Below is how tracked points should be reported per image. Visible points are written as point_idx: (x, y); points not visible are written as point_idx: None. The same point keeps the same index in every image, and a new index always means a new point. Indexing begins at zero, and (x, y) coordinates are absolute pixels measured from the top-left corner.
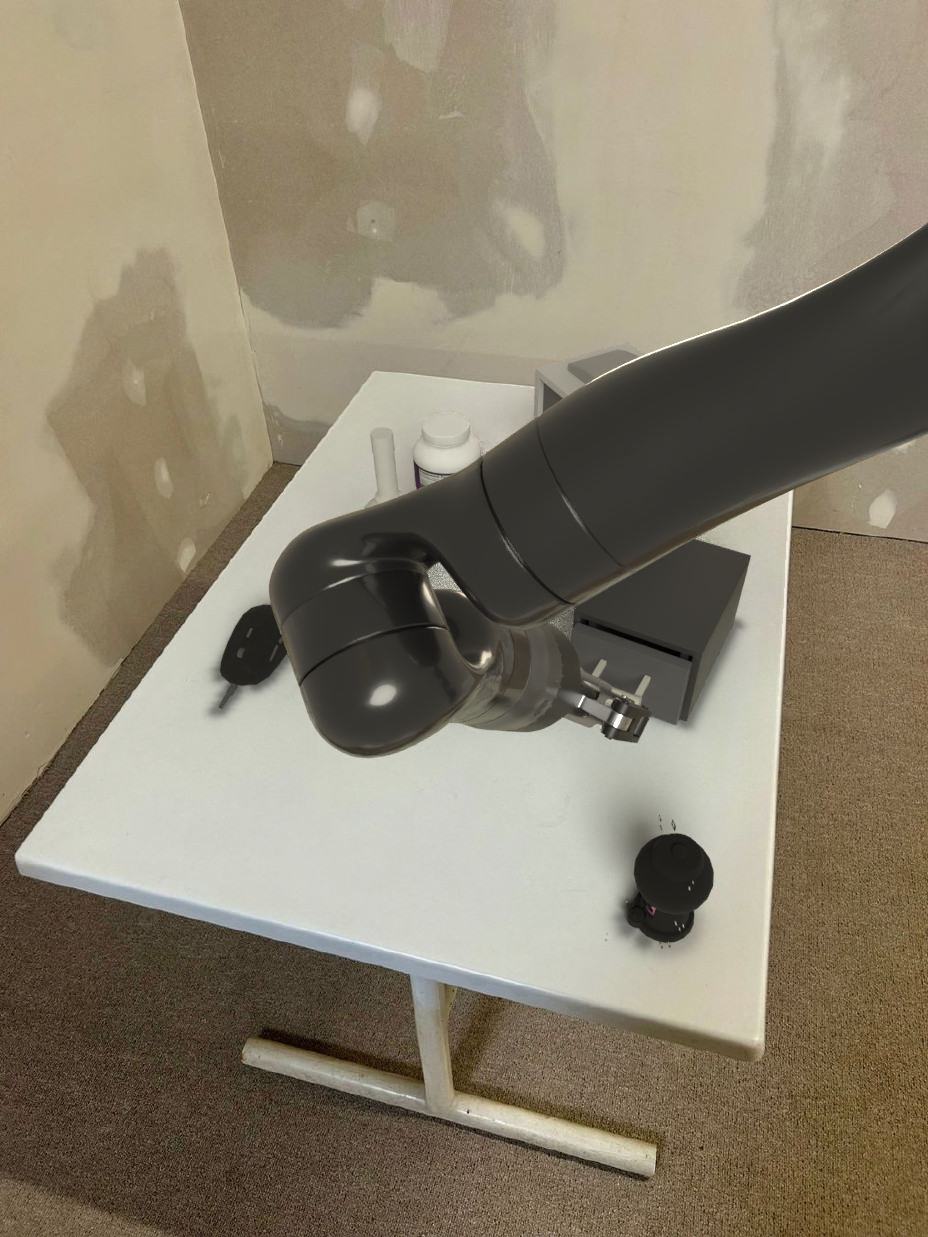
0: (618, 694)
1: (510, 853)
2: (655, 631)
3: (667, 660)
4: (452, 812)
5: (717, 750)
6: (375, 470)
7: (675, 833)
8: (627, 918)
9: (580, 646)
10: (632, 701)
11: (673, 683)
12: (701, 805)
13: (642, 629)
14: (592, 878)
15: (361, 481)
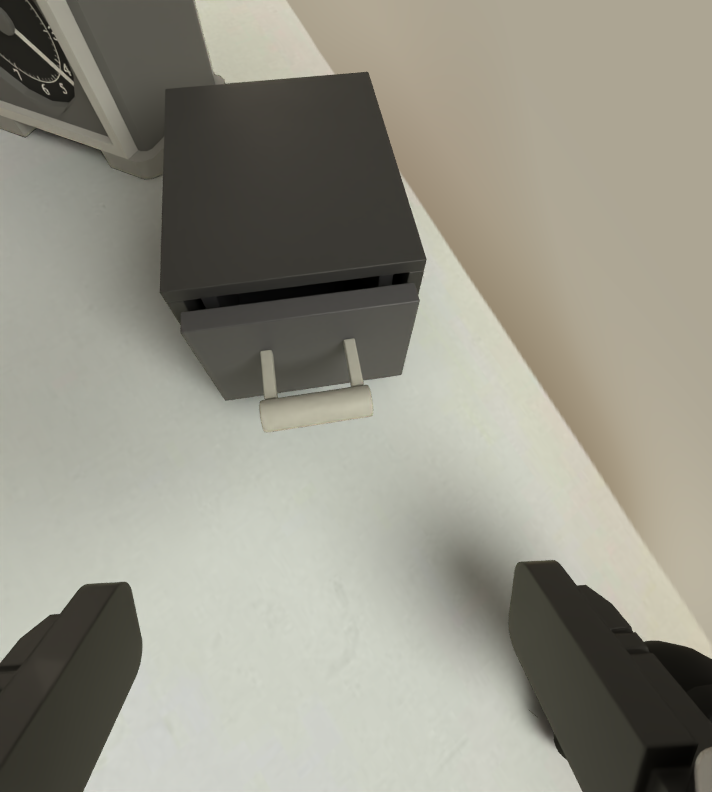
0: (706, 790)
1: (321, 769)
2: (328, 259)
3: (377, 301)
4: (180, 766)
5: (462, 375)
6: None
7: (708, 718)
8: (560, 753)
9: (213, 350)
10: (573, 585)
11: (393, 330)
12: (501, 468)
13: (305, 267)
14: (461, 707)
15: None
